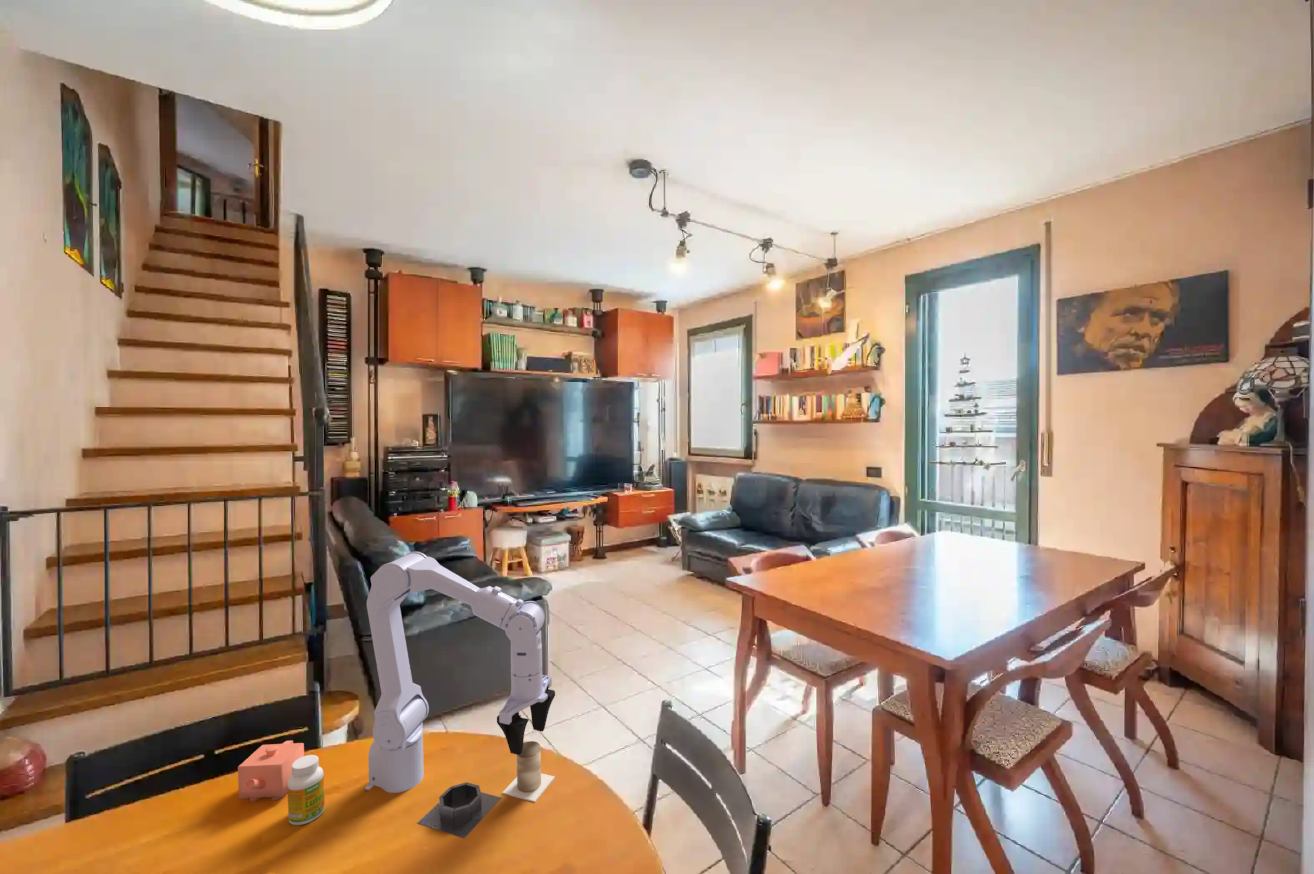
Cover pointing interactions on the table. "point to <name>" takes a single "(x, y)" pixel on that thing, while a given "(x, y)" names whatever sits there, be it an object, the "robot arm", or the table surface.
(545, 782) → the tile pad
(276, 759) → the pink cube teapot
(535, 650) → the robot arm
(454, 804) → the housing
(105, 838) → the table surface
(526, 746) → the tan cylinder
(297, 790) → the supplement bottle
